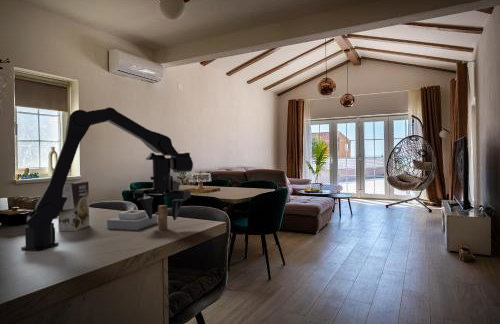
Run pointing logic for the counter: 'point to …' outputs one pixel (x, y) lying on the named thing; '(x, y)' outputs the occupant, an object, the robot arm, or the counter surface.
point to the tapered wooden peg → (162, 217)
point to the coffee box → (75, 207)
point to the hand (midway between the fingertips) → (162, 219)
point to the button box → (131, 220)
